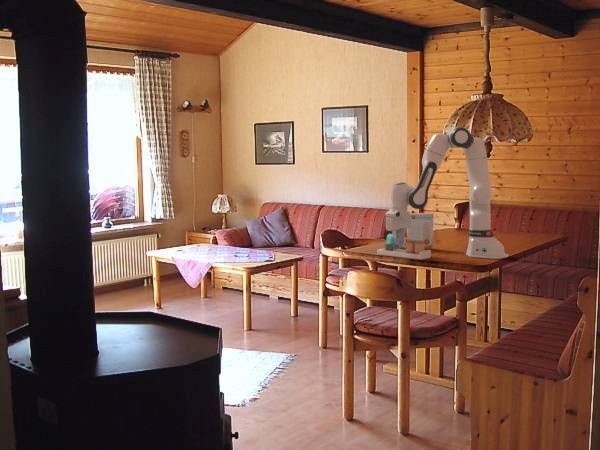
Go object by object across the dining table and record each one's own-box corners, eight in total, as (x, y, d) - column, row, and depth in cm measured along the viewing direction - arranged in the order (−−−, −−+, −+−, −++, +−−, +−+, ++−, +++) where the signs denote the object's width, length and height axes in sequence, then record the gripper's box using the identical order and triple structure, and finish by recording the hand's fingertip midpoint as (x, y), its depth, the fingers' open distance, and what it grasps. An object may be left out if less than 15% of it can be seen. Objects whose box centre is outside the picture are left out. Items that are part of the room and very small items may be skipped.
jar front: (426, 257, 378) (426, 241, 377) (420, 258, 374) (420, 242, 373) (417, 256, 381) (418, 240, 380) (412, 257, 377) (412, 241, 376)
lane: (430, 257, 378) (430, 250, 378) (421, 259, 371) (421, 252, 371) (387, 252, 398) (387, 245, 397) (377, 254, 391) (377, 247, 390)
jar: (417, 256, 381) (417, 240, 380) (411, 257, 378) (411, 241, 377) (409, 255, 385) (409, 239, 384) (403, 256, 381) (403, 240, 380)
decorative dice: (399, 246, 419) (399, 233, 418) (403, 248, 412) (403, 235, 411) (386, 247, 418) (386, 233, 417) (390, 249, 410) (390, 235, 410)
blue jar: (397, 243, 389) (397, 227, 388) (405, 244, 386) (405, 227, 385) (392, 244, 386) (392, 227, 385) (399, 245, 382) (400, 228, 381)
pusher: (398, 252, 396) (398, 242, 395) (387, 254, 388) (387, 244, 387) (395, 251, 397) (395, 241, 397) (384, 254, 389) (384, 244, 389)
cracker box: (433, 248, 410) (433, 212, 408) (431, 250, 405) (432, 213, 402) (409, 247, 415) (409, 212, 413) (407, 249, 409) (407, 213, 407)
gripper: (405, 210, 393) (404, 235, 395) (383, 213, 379) (383, 238, 380) (414, 211, 389) (414, 236, 391) (393, 214, 374) (392, 239, 376)
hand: (398, 237), depth 385 cm, fingers closed on blue jar, 5 cm apart
